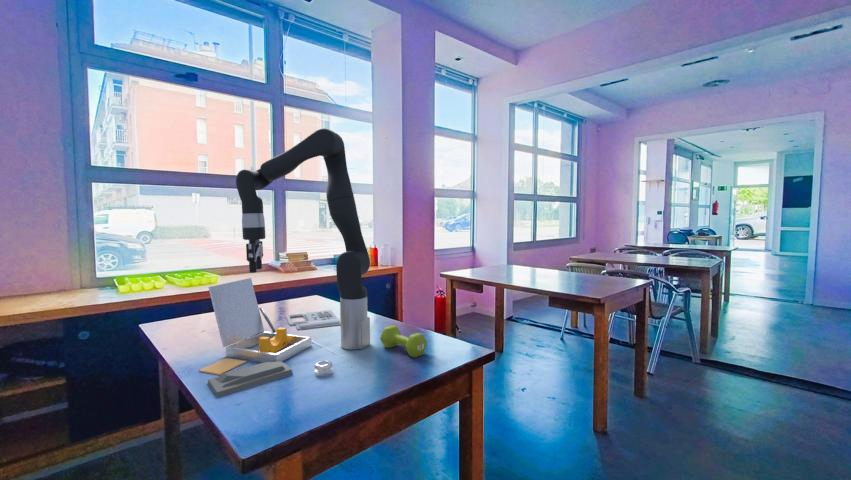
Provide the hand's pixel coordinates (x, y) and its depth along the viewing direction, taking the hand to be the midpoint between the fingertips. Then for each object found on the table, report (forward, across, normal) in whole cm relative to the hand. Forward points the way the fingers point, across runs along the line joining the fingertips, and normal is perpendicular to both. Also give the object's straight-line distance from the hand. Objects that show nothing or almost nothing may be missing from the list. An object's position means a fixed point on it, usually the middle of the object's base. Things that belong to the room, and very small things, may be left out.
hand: (256, 270), depth 142 cm
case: (+25, -14, -6) cm, 30 cm away
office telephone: (+26, +20, -17) cm, 37 cm away
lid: (+12, -8, +5) cm, 15 cm away
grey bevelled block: (+26, -36, -5) cm, 45 cm away
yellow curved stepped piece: (+26, -14, -7) cm, 30 cm away
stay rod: (+23, -1, -3) cm, 24 cm away
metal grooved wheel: (+26, -35, -25) cm, 51 cm away
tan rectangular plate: (+25, -25, +5) cm, 36 cm away
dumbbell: (+27, -22, -50) cm, 61 cm away
